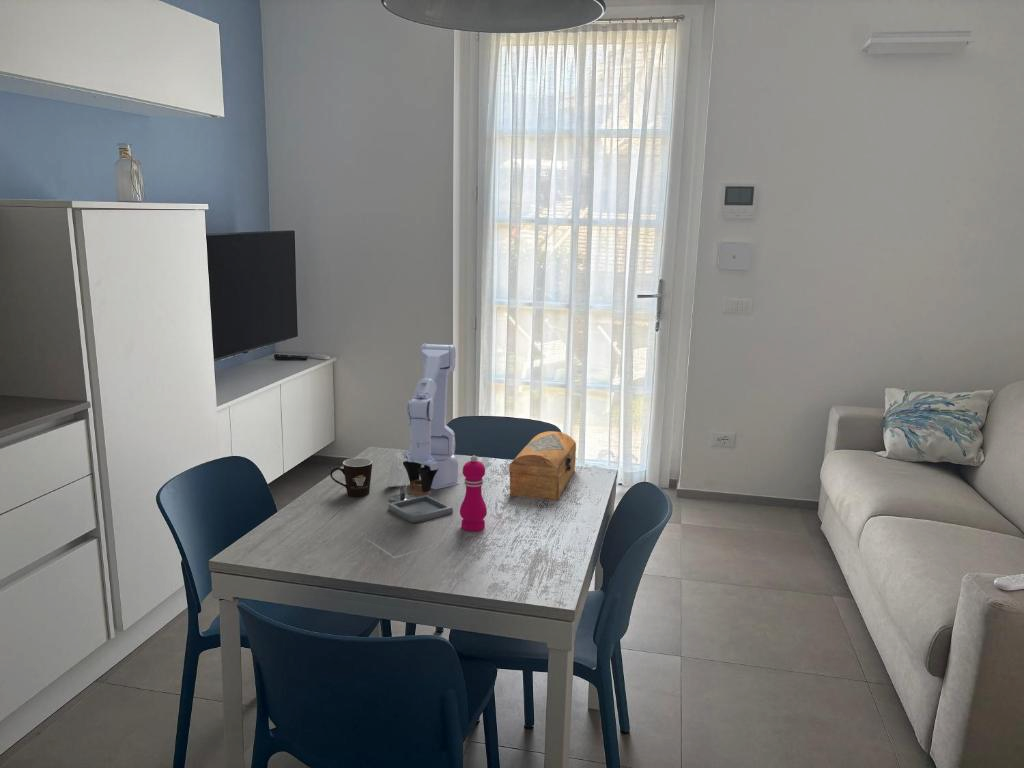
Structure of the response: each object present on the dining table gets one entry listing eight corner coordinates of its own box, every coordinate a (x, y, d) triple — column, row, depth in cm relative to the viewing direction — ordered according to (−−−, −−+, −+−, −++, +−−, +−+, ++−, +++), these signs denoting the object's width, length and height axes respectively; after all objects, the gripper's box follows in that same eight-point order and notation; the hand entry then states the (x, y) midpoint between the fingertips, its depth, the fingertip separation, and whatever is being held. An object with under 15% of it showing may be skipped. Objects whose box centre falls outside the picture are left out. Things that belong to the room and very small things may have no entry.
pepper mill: (490, 524, 214) (491, 453, 210) (480, 534, 207) (481, 460, 203) (465, 520, 216) (466, 450, 212) (455, 530, 209) (456, 457, 205)
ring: (403, 492, 220) (403, 482, 220) (426, 487, 225) (426, 477, 225) (413, 498, 216) (413, 487, 216) (436, 492, 221) (436, 482, 221)
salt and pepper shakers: (388, 491, 238) (387, 456, 236) (384, 487, 242) (383, 452, 240) (425, 486, 243) (425, 451, 241) (421, 482, 247) (421, 448, 245)
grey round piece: (406, 493, 236) (406, 479, 236) (421, 501, 230) (421, 486, 230) (383, 499, 231) (383, 484, 231) (398, 506, 225) (397, 491, 224)
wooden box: (560, 503, 232) (562, 457, 230) (506, 496, 237) (508, 452, 234) (579, 473, 261) (581, 432, 258) (531, 468, 265) (532, 428, 262)
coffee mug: (376, 490, 239) (375, 458, 237) (368, 500, 230) (367, 467, 228) (338, 488, 240) (338, 456, 238) (329, 497, 231) (328, 465, 229)
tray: (426, 500, 231) (426, 494, 231) (452, 513, 221) (452, 507, 221) (388, 509, 223) (388, 503, 222) (413, 523, 213) (413, 517, 213)
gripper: (394, 437, 221) (394, 484, 224) (422, 449, 210) (422, 498, 213) (415, 434, 225) (415, 479, 228) (444, 445, 214) (444, 493, 217)
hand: (420, 488), depth 221 cm, fingers closed on ring, 5 cm apart
